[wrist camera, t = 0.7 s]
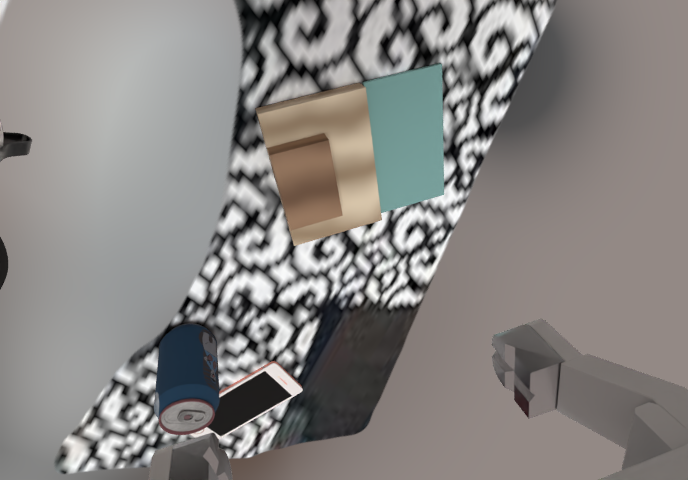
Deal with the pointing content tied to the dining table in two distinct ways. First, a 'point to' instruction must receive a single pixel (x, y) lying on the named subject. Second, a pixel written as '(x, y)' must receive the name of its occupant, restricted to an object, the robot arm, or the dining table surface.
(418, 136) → the mat
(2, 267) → the coffee press
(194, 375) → the soda can
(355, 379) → the dining table surface
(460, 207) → the dining table surface
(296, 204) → the tile
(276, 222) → the dining table surface
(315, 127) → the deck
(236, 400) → the cell phone
